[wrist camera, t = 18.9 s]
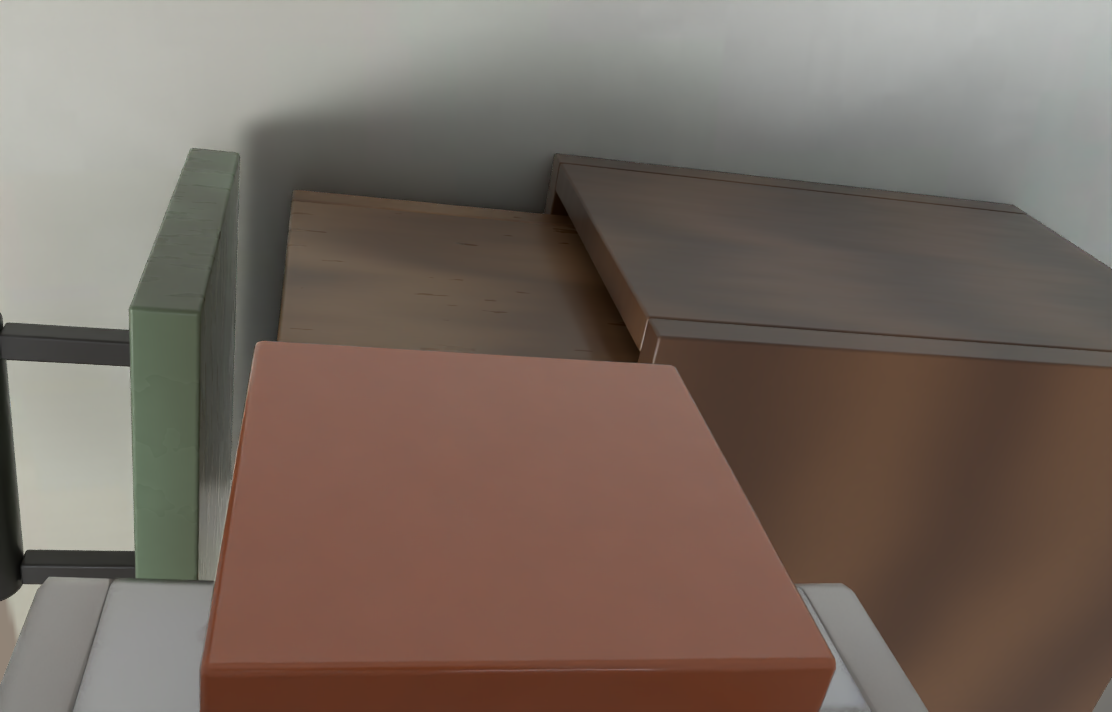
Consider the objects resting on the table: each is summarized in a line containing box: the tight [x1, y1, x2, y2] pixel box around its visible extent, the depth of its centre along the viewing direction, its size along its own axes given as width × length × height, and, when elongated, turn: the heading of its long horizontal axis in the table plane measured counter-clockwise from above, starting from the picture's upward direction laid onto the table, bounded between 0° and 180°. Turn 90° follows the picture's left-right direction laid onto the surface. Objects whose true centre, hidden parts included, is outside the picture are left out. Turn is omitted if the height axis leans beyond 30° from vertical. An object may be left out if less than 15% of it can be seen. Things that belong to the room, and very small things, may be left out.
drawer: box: [0, 148, 640, 601], centre depth 25 cm, size 18×11×9 cm, turn 80°
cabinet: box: [544, 154, 1112, 712], centre depth 28 cm, size 15×13×11 cm
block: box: [199, 340, 836, 712], centre depth 9 cm, size 4×4×4 cm
